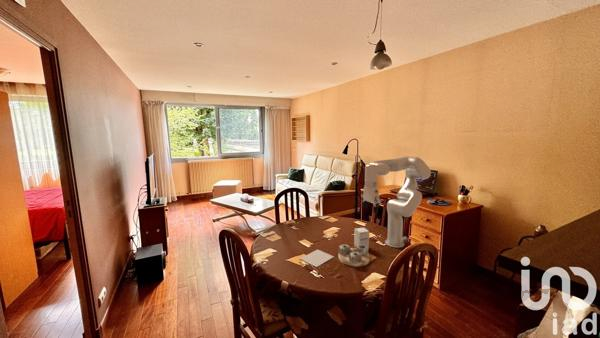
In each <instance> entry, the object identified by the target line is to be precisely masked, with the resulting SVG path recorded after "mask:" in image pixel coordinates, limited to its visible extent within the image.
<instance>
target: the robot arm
mask: <svg viewBox="0 0 600 338" xmlns="http://www.w3.org/2000/svg"><path fill="white" fill-rule="evenodd" d="M401 171H405V172H404V173H405V181H404V183H403V185H402V186H401V188H400V189H399V191H398V192H397V194H396V198H397V199H396V198H392V199H390V200H388V201H387V203H386V211H387V239H385V240H384V244H385V245H387V246H388V247H392V248H396V249H397V248H404V246H405V242H404V241H405V240H407V239H408V237H407V236H403V230H404V228H403V226H404V218H403V217H405V218H409V217H411V216H413V214H414V212H416V210H417V209H418V207H419V206H420V204H421V202H422V199H423V194H422V192H421V191H419V190H417V189H418V182H417V179H421V180H427V179H429V178H430V177H431V175H432V171H431V168H430V167H429V166H428V164H427V163H426V162H425V161H424V160H422V158H420V157H417V156H402V157H397V158H391V159H382V160H375V161H371V162H370V163H367V164H365V166H364V186H363V192H362V194H360V196H361V200H362V202H361V203H362V208H363V210H364V209H368V204H369V203H371V204H373V212H372V213H373V214H377V213H379V207H380V205H381V203H382V200H381V199H380V191H379V189H380V188H379V185H378V184H379V183H378V176H386V175H388V174H389V173H390V172H401Z"/></svg>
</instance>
